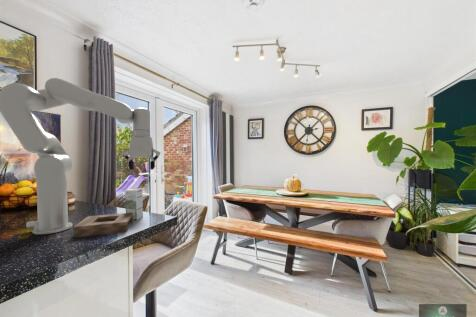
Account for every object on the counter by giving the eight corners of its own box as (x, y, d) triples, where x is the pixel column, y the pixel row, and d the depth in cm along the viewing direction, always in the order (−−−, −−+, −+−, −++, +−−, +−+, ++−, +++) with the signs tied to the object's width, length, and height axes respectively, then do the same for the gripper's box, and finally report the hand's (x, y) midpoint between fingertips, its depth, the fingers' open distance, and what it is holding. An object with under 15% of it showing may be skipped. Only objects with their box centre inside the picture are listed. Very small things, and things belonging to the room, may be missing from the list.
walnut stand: (73, 237, 80) (73, 227, 80) (88, 225, 94) (88, 216, 94) (126, 231, 85) (126, 221, 85) (133, 221, 99) (132, 212, 99)
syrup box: (143, 216, 106) (142, 187, 106) (136, 220, 100) (136, 189, 100) (132, 216, 107) (132, 187, 107) (125, 220, 101) (124, 189, 101)
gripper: (119, 133, 99) (119, 170, 99) (157, 133, 100) (157, 169, 100) (126, 134, 106) (127, 169, 106) (162, 135, 107) (162, 168, 107)
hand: (141, 169), depth 103 cm, fingers open, 9 cm apart
